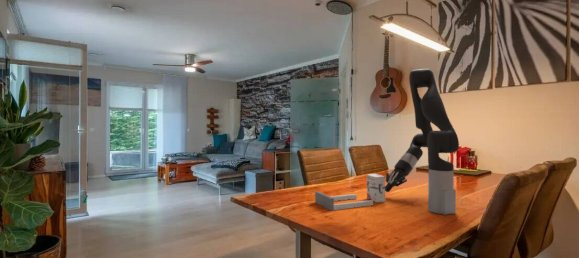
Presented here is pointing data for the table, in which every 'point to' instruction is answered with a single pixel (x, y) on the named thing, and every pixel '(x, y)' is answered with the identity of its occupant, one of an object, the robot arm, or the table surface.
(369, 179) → the ink box
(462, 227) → the table surface
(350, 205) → the bay
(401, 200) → the table surface
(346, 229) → the table surface
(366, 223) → the table surface
